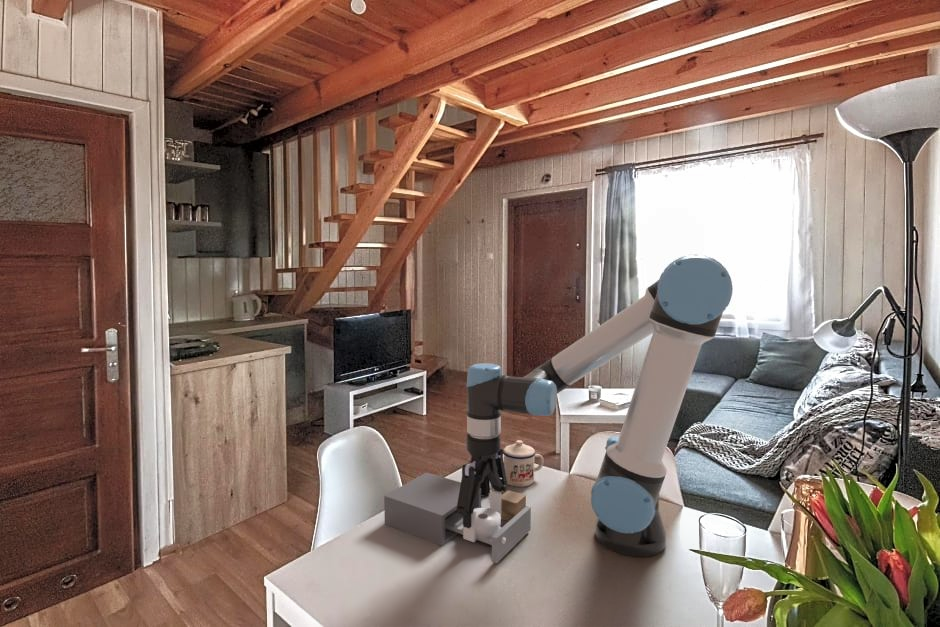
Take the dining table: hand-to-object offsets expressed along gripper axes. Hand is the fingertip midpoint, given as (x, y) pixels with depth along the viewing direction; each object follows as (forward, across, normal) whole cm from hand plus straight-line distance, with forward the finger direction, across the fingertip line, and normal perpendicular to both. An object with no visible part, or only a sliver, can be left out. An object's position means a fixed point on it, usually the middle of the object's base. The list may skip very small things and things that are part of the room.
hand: (482, 528), depth 113 cm
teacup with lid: (+2, -32, -6) cm, 33 cm away
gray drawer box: (+2, 0, -14) cm, 14 cm away
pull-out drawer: (+1, 0, 0) cm, 2 cm away
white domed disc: (0, 0, 0) cm, 0 cm away
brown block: (+2, -12, +1) cm, 12 cm away
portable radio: (+2, -19, -13) cm, 23 cm away
